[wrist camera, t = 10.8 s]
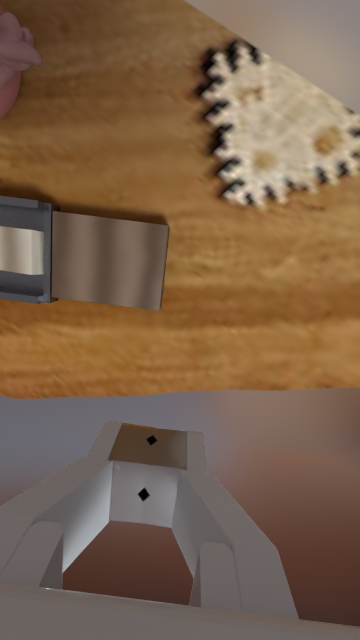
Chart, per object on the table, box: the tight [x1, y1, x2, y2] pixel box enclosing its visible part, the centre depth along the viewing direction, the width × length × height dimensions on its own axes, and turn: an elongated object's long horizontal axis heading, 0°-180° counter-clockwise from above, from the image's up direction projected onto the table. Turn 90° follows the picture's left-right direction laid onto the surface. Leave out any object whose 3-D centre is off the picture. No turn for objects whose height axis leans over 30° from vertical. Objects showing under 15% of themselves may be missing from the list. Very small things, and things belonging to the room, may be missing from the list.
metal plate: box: [52, 211, 170, 311], centre depth 39 cm, size 16×12×3 cm
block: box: [0, 226, 44, 275], centre depth 38 cm, size 6×6×3 cm
